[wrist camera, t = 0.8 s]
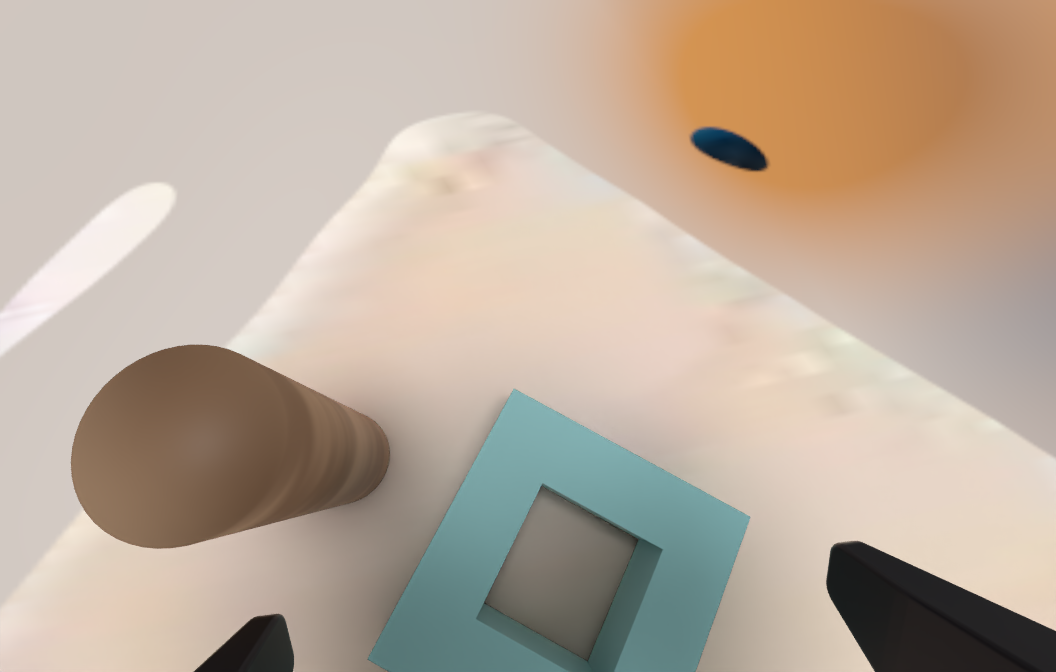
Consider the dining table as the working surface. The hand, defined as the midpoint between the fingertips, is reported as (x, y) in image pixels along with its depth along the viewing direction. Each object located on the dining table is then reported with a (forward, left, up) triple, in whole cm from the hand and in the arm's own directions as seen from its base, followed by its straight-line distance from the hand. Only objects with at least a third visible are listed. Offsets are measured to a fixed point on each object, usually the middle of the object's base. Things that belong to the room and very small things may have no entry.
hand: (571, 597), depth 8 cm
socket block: (0, -3, -14) cm, 15 cm away
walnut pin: (-4, +7, -14) cm, 17 cm away
